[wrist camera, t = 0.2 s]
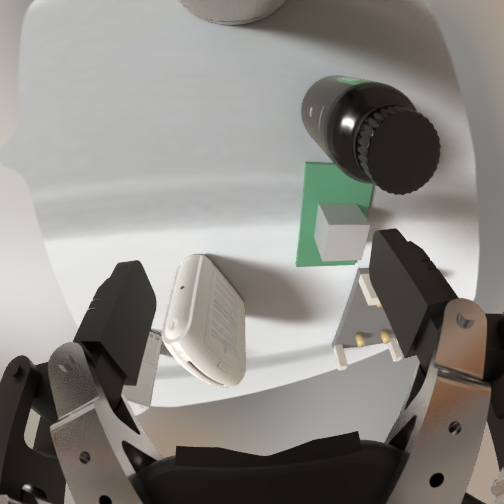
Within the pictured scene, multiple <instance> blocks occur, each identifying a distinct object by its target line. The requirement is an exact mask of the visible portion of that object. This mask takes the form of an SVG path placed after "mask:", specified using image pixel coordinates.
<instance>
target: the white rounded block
mask: <svg viewBox="0 0 504 504" xmlns="http://www.w3.org/2000/svg"><path fill="white" fill-rule="evenodd" d="M162 340H163V342H164V344H165V346H166V347H167V349H168V350H169V352H170V353H171V354H172V356H173V357H174V358H175V359H176V360H177V361H178V362H179V363H180V364H181V365H182V366H183V367H184V368H185V369H186V370H188V371H189V372H190V373H191V374H193V375H194V376H196V377H197V378H199V379H200V380H202V381H204V382H206V383H208V384H211V385H214V386H217V387H223V388H227V387H229V386H236V385H238V384H239V383H240V382H241V380H242V379H243V377H244V374H245V371H246V352H245V306H244V303H243V301H242V299H241V297H240V296H239V295H238V293H237V292H236V291H235V290H234V288H233V287H232V286H231V285H230V283H229V282H228V281H227V280H226V278H225V277H224V276H223V275H222V274H221V272H220V271H219V270H218V269H217V268H216V266H215V265H214V264H213V263H212V262H211V261H210V260H209V259H208V258H207V257H206V256H205V255H200V254H194V255H190V256H187V257H186V258H184V260H183V261H182V263H181V265H180V266H179V267H178V269H177V271H176V275H175V278H174V283H173V286H172V290H171V294H170V298H169V302H168V306H167V310H166V315H165V319H164V324H163V328H162Z"/></svg>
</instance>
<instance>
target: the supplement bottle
mask: <svg viewBox="0 0 504 504" xmlns="http://www.w3.org/2000/svg"><path fill="white" fill-rule="evenodd" d="M301 112H302V120H303V123H304V126H305V128H306V130H307V131H308V133H309V134H310V136H311V137H312V138H313V139H314V140H315V142H316V143H317V144H318V145H319V146H320V147H321V148H322V150H323V151H324V152H325V153H326V154H327V155H328V157H329V158H330V159H331V160H332V161H333V162H334V164H335V165H336V166H337V167H338V168H339V169H340V170H341V171H342V172H343V173H344V174H346V175H347V176H348V177H350V178H352V179H354V180H356V181H359V182H362V183H366V184H375V185H377V186H379V187H380V189H382V190H384V191H387V192H388V193H394V194H395V195H398V194H401V195H404V194H406V193H411V192H413V191H417V190H418V189H419V188H421V187H423V186H424V184H425V183H427V182H428V181H429V179H430V178H431V177H432V176H433V174H434V172H435V170H436V169H437V164H438V163H439V157H440V147H441V146H440V143H439V137H438V136H437V131H436V130H435V129H434V126H433V124H432V123H430V122H429V120H428V119H427V118H426V117H424V116H423V115H422V114H421V113H419V112H417V110H416V108H415V106H414V105H413V103H412V102H411V101H410V100H409V98H408V97H407V96H405V95H404V94H403V93H402V92H401V91H399V90H398V89H396V88H394V87H392V86H389V85H386V84H383V83H379V82H375V81H370V80H365V79H359V78H354V77H348V76H329V77H325V78H323V79H321V80H319V81H317V82H316V83H315V84H313V85H312V86H311V87H310V89H309V90H308V91H307V93H306V95H305V97H304V99H303V103H302V110H301Z"/></svg>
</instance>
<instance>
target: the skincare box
mask: <svg viewBox="0 0 504 504" xmlns="http://www.w3.org/2000/svg"><path fill="white" fill-rule="evenodd" d="M161 345H162V336H160V335H158V334H156V333H153V332H151V331H150V333H149V337H148V340H147V344H146V348H145V352H144V356H143V360H142V364H141V368H140V372H139V376H138V381H137V385H136V386H127V385H124V386H123V390H122V393H123V394H124V395H125V397H126V399H127V401H128V403H129V405H130V407H131V409H132V411H133V413H134V415H135V416H137V415H138V414H140V413H143V412H144V411H145V410H147V409H148V408H150V404H151V399H152V393H153V387H154V381H155V375H156V370H157V365H158V360H159V355H160V350H161Z"/></svg>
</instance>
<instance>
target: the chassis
mask: <svg viewBox="0 0 504 504" xmlns="http://www.w3.org/2000/svg"><path fill="white" fill-rule="evenodd" d="M395 337H396V336H395V334H394V331H393V329H392V327H391V325H390V322H389V320H388V318H387V316H386V314H385V312H384V309H383V307H382V305H381V303H380V301H379V299H378V297H377V295H376V293H375V291H374V289H373V287H372V284H371V281H370V277H369V268H359V269H358V271H357V274H356V277H355V281H354V284H353V287H352V290H351V293H350V296H349V299H348V302H347V305H346V308H345V310H344V313H343V316H342V319H341V322H340V324H339V327H338V330H337V332H336V335H335V338H334V340H333V343H332V346H333V350H334V355H335V359H336V363H337V367H338V370H345V369H346V368H347V366H348V365H347V361H346V357H345V353H344V350H343V348H349V347H363V346H366V345H373V344H380V343H384V344H387V345H388V347H389V350H390V353H391V355H392V358H393V361H394V362H395V361H400V360H401V358H402V354H401V351H400V348H399V346H398V343H397V341H396V338H395Z"/></svg>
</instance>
